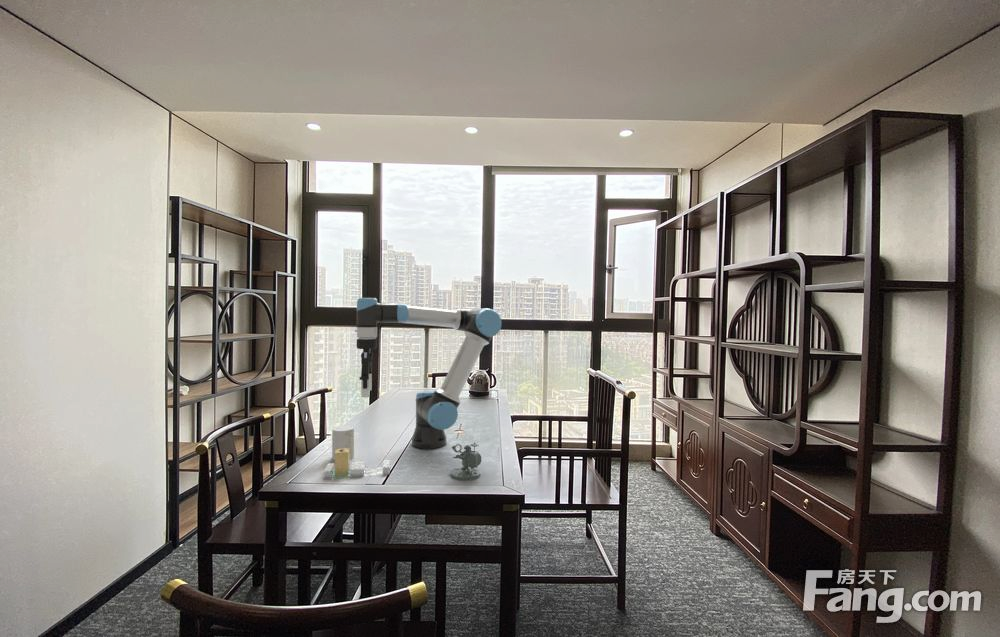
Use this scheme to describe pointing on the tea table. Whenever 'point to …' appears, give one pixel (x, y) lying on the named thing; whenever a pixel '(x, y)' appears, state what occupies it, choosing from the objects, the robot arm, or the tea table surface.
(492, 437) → the tea table surface
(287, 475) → the tea table surface
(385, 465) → the rail
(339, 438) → the cup
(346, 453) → the pale yellow tall block
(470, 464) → the figurine
